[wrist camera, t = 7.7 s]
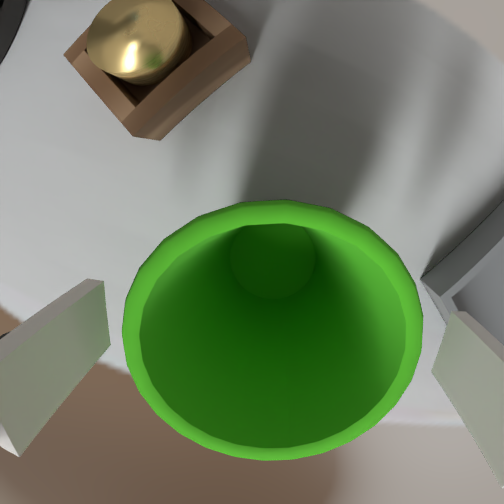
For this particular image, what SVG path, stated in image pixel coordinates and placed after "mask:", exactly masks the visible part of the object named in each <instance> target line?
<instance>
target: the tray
mask: <svg viewBox="0 0 504 504" xmlns="http://www.w3.org/2000/svg"><path fill="white" fill-rule="evenodd" d="M420 280H421V282H422V283H423V285H424V287H425V288H426V290H427V292H428V293H429V295H430V297H431V298H432V300H433V302H434V304H435V305H436V307H437V309H438V311H439V312H440V314H441V316H442V318H443V320H444V321H445V323H446V325H447V324H448V321H449V317H450V314H451V311H464V312H467V313H468V314H469V315H470V316H472V317H473V318H474V319H475V320H476V321H477V322H478V323H480V324H481V325H482V326H483V327H484V328H485V329H486V330H487V331H488V332H489V333H491V334H492V335H493V336H494V337H495V338H496V339H497V340H498V341H499V342H500V343H501V344H502V345H503V346H504V201H503V202H502V203H501V204H500V205H499V206H498V207H497V208H496V209H495V210H494V211H493V212H492V213H491V214H490V215H489V216H488V217H487V218H486V219H485V220H484V221H483V222H482V223H481V224H480V225H479V226H478V227H477V228H476V229H475V230H474V231H473V232H472V233H471V234H470V235H469V236H468V237H467V238H466V239H465V240H464V241H462V242H461V243H460V244H459V245H458V246H457V247H456V248H455V249H454V250H453V251H452V252H451V253H450V254H448V255H447V256H446V257H445V258H444V259H443V260H442V261H441V262H439V263H438V264H437V265H436V266H435V267H434V268H433V269H432V270H430V271H429V272H428V273H427V274H426V275H425V276H423V277H422V278H421V279H420Z"/></svg>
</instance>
